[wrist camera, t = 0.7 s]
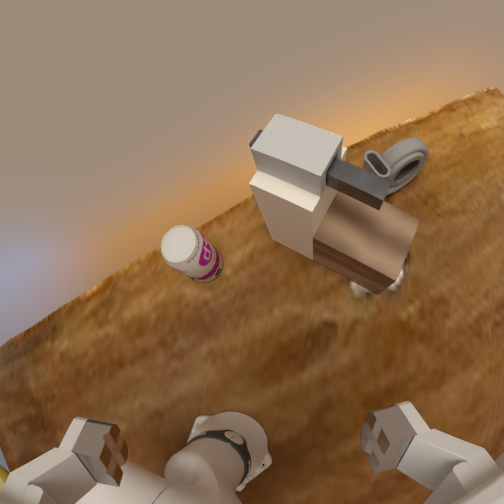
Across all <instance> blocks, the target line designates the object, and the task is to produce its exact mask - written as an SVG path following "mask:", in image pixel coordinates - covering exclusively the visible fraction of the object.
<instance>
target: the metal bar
mask: <svg viewBox="0 0 504 504" xmlns="http://www.w3.org/2000/svg"><path fill="white" fill-rule="evenodd" d="M262 132H263V130H259V131H258V133H257V134H256V135H255V137H254V138H253V140H252V141H251V142H250V147H252V145H253V144H254V143H255V141H256V140H257V139H258V137H259V136H260V134H261V133H262ZM390 184H391V182H389V181H386V180H384V179H382V178H380V177H378V176H376V175H374V174H372V173H370V172H367V171H365V170H363V169H361V168H359V167H356V166H354V165H352V164H350V163H347V162H345V161H343V160H340V159H338V158H335V157H334V158H333V160H332V162H331V164H330V166H329V167H328V169H327V171H326V186H328V187H330V188H333V189H335V190H337V191H339V192H341V193H343V194H346V195H348V196H350V197H352V198H354V199H356V200H358V201H360V202H362V203H364V204H366V205H369V206H371V207H373V208H375V209H377V210H380V208H381V206H382V203H383V201H384V199H385V196H386V194H387V192H388V189H389V187H390Z"/></svg>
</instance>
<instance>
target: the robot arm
mask: <svg viewBox="0 0 504 504" xmlns="http://www.w3.org/2000/svg"><path fill="white" fill-rule="evenodd" d="M365 420H366V422H367V423H366V424H365V425H364V426H363V427H362V430H361V433H360V437H361V444H362V447H363V449H364V451H365V452H367V453H369V454H370V457H369V463H370V465H371V467H372V469H373V471H374V473H375V474H376V473H379V472H383V471H386V470H389V469H392V468H395V467H397V469H398V470H400V471H401V472H403V473H404V474H406V475H407V476H409V477H411V478H412V479H414V480H415V481H417V482H418V483H420V484H422V485H423V486H425V487H427V488H428V489H430V490H431V491H433V493H432V494H431V495H430V496H429V497H428V498H427V499H426V500H425V502H424V504H504V469H503V470H502V471H501V470H500V469H499V467H498V466H497V465H496V463H495V462H494V461H493V459H492V458H491V457H490V455H489V454H488V453H487V452H486V450H485V449H484V448H482V447H479V446H476V445H474V444H471V443H468V442H466V441H463V440H461V439H458V438H455V437H453V436H451V435H448V434H446V433H443V432H441V431H438V430H436V429H431V430H430V428H429V427H428V426H427V424H426V423H425V421H424V420H423V419H422V417H421V416H420V414H419V413H418V412H417V410H416V409H415V408H414V406H413V405H412V404H411V402H409V401H405V402H401V403H398V404H395V405H390V406H387V407H383V408H379V409H376V410H372V411H369V412H368V413H367V414H366V417H365ZM119 434H120V429H119V427H118V425H117V424H112V423H107V422H102V421H96V420H92V419H86V418H82V417H76V418H74V419H73V421H72V423H71V425H70V427H69V429H68V431H67V432H66V434H65V436H64V438H63V440H62V442H61V444H60V446H59V448H53V449H52V450H50V451H48V452H47V453H45V454H43V455H41V456H40V457H38V458H36V459H34V460H32V461H31V462H29V463H27V464H25V465H23V466H22V467H20V468H18V469H16V470H14V471H12V472H11V473H10V474H9V476H8V478H7V480H6V482H5V484H4V486H3V488H2V490H1V492H0V504H242V503H241V501H240V500H239V499H238V497H237V495H236V493H235V492H236V491H241V490H242V489H243V488H244V487H245V486H246V483H248V482H249V481H251V480H252V479H253V478H254V477H256V476H257V475H258V474H260V473H261V472H262V471H264V470H265V469H266V468H267V467H269V466H270V465H271V463H272V457H271V455H270V453H269V451H268V442H267V437H266V434H265V432H264V430H263V428H262V427H261V426H260V424H259V423H258V422H257V421H255V420H254V419H253V418H251V417H249V416H247V415H245V414H242V413H239V412H222V413H219V414H216V415H213V416H208V415H200V416H198V417H197V418H196V420H195V423H194V426H193V428H192V431H191V434H190V436H189V439H188V441H187V444H186V445H185V446H184V448H183V449H182V450H180V451H179V452H177V453H176V454H174V455H173V456H172V457H171V458H170V459H169V461H168V462H167V464H166V467H165V472H164V475H165V479H164V478H162V477H160V476H158V475H156V474H154V473H152V472H150V471H148V470H146V469H145V468H143V467H141V466H139V465H137V464H135V463H133V462H132V461H129V460H127V457H128V448H127V443H126V441H125V439H124V438H122V437H121V436H120V435H119ZM262 464H264V465H262Z"/></svg>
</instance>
